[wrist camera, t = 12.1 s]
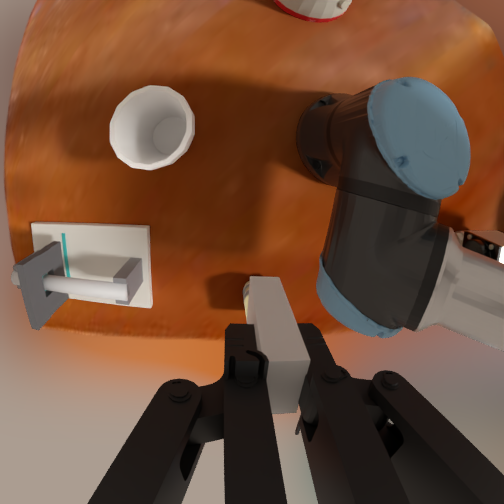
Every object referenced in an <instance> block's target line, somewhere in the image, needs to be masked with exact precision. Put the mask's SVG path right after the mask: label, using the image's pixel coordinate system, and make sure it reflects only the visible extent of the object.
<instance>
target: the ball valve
mask: <svg viewBox="0 0 504 504" xmlns="http://www.w3.org/2000/svg"><path fill="white" fill-rule="evenodd" d="M455 235H456V237H457V239H458V241H459V243H460V245H461V246H463V247H464V248H466V249H469V250H471V251H474V252H476V253H479V254H481V255H484V256H486V257H489V258H491V259H494V260H496V261H499V262H501V263H503V264H504V232H502V231H499V230H492V231H476V230H472V231H456V232H455Z"/></svg>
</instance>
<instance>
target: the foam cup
mask: <svg viewBox="0 0 504 504" xmlns="http://www.w3.org/2000/svg"><path fill="white" fill-rule="evenodd" d="M194 135H195V116H194V114H193V112H192V110H191V108H190V106H189V104H188V103H187V101H186V99H185V98H184V97H183V96H182V95H180V94H179V93H177V92H176V91H174V90H173V89H171V88H169V87H165V86H153V85H149V86H146V87H144V88H141V89H138V90H136V91H133V92H131V93H130V94H129V95H128V96H127V97H126V98H125V99H124V100H123V101H122V102H121V103H120V104H119V105H118V106H117V108H116V110H115V113H114V115H113V117H112V119H111V122H110V143H111V145H112V147H113V149H114V151H115V153H116V155H117V157H118V158H119V159H120V160H122V161H123V162H125V163H126V164H127V165H129V166H130V167H132V168H138V169H145V170H155V169H158V168H161V167H164V166H167V165H171V164H173V163H174V162H175V161H176V160H178V159H179V158H180V157H181V156H182V155H183V154H184V153H185V152H187V150H188V148H189V147H190V144H191V142H192V140H193V137H194Z"/></svg>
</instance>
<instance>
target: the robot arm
mask: <svg viewBox="0 0 504 504" xmlns="http://www.w3.org/2000/svg"><path fill="white" fill-rule="evenodd" d="M296 141H297V148H298V152H299V155H300V157H301V159H302V161H303V163H304V165H305V166H306V168H307V169H308V170H309V171H310V172H311V173H312V174H313V175H314V176H315V177H316V178H317V179H319V180H320V181H322V182H324V183H326V184H328V185H331V186H335V187H337V189H336V194H335V199H334V204H333V209H332V214H331V219H330V223H329V228H328V232H327V236H326V240H325V244H324V248H323V251H322V253H321V255H320V260H319V261H320V268H319V273H318V278H317V283H316V289H317V294H318V296H319V298H320V299H321V303H322V305H323V306H324V307H325V309H326V310H327V311H328V312H329V313H330V314H331V315H332V316H333V317H334V318H335V319H337V320H338V321H339V322H341V323H342V324H343V325H345V326H347V327H348V328H350V329H352V330H354V331H356V332H358V333H361V334H364V335H367V336H371V337H375V336H376V335H377V336H379V337H380V338H389V337H392V336H394V335H396V334H397V333H398V332H399V331H401V330H402V328H403V327H405V328H407V329H409V330H412V331H414V332H419V331H421V330H423V329H426V328H428V327H430V326H432V325H439V326H441V327H444V328H446V329H448V330H451V331H454V332H456V333H459V334H461V335H464V336H466V337H468V338H471V339H473V340H476V341H479V342H481V343H483V344H486V345H488V346H491V347H493V348H496V349H498V350H501V351H503V352H504V264H503V263H501V262H499V261H496V260H494V259H491V258H489V257H486V256H484V255H481V254H479V253H476V252H474V251H471V250H469V249H466V248H464V247H463V246H461V245H460V243H459V241H458V239H457V237H456V235H455V233H454V231H453V229H452V228H451V227H448V226H446V225H443V224H440V223H438V222H437V218H438V214H439V209H440V205H441V200H442V199H444V198H446V197H449V196H451V195H453V194H455V193H456V192H457V191H458V189H459V187H458V186H459V185H463V183H464V182H465V180H466V177H467V174H468V170H469V166H470V143H469V138H468V134H467V130H466V127H465V124H464V122H463V119H462V118H461V117H460V115H459V113H458V111H457V109H456V107H455V105H454V104H453V102H452V101H451V100H450V99H449V98H448V96H447V95H446V94H445V93H444V92H442V91H441V90H440V89H439V88H438V87H436V86H435V85H433V84H431V83H430V82H428V81H425V80H423V79H420V78H415V77H403V78H398V79H394V80H386V81H382V82H381V83H379V84H377V85H375V86H373V87H371V88H368V89H366V90H364V91H362V92H360V93H358V94H356V95H349V94H331V95H327V96H324V97H322V98H320V99H318V100H317V101H315V102H314V103H312V104H311V105H310V106H309V107H308V108H307V109H306V110H305V111H304V113H303V114H302V116H301V118H300V120H299V123H298V127H297V134H296ZM298 404H299V406H300V410H301V415H300V418H299V421H298V424H297V427H296V432H295V434H296V435H298V434H299V431H300V429H301V433H302V438H303V442H304V446H305V450H306V454H307V458H308V463H309V467H310V470H311V475H312V479H313V484H314V487H315V492H316V496H317V500H318V504H504V475H503V474H502V473H501V472H500V471H499V470H498V469H497V468H496V467H495V466H494V465H493V464H492V463H491V462H490V461H489V460H488V459H487V458H486V457H485V456H484V455H483V454H482V453H481V452H480V451H479V450H478V449H477V448H476V447H475V446H474V445H473V444H472V443H471V442H470V441H469V440H468V439H467V438H466V437H465V436H464V435H463V434H462V433H461V432H460V431H459V430H457V428H455V427H454V426H453V425H452V424H451V423H450V422H449V421H448V420H447V419H446V418H445V417H444V416H443V415H442V414H441V413H440V412H439V411H438V410H437V409H436V408H435V407H434V406H432V404H431V403H430V402H429V401H428V400H427V399H425V398H424V397H423V396H422V395H421V394H420V393H419V392H418V391H417V390H416V389H415V388H414V387H413V386H412V385H411V384H410V383H409V382H407V380H406V379H405V378H403V377H402V376H401V375H399V374H398V373H396V372H393V371H386V370H385V371H380V372H378V373H377V374H375V375H374V377H373V379H372V380H364V379H357V378H352V377H351V376H350V374H349V373H348V371H347V370H345V369H344V368H342V367H341V366H338V365H336V363H335V361H334V359H333V357H332V355H331V353H330V351H329V349H328V347H327V345H326V342H325V340H324V339H323V336H322V334H321V332H320V330H319V329H318V328H317V327H316V326H314V325H313V324H312V323H298V324H297V323H296V320H295V318H294V315H293V312H292V310H291V307H290V304H289V302H288V299H287V297H286V294H285V291H284V289H283V286H282V284H281V281H280V279H279V277H258V276H250V283H249V297H248V311H247V324H231V323H230V325H229V326H228V327H227V328H226V330H225V359H224V374H223V376H222V377H221V378H220V380H218V381H217V382H215V383H213V384H210V385H206V386H200V387H198V386H197V385H196V384H195V383H194V382H191V381H189V380H185V379H173V380H170V381H168V382H165V383H164V384H163V385H162V386H161V387H160V388H159V389H158V391H157V392H156V394H155V395H154V397H153V399H152V400H151V402H150V404H149V405H148V407H147V408H146V410H145V411H144V413H143V415H142V416H141V418H140V419H139V421H138V423H137V425H136V426H135V427H134V429H133V431H132V432H131V434H130V436H129V437H128V439H127V440H126V442H125V444H124V445H123V447H122V449H121V450H120V452H119V453H118V455H117V456H116V458H115V460H114V461H113V463H112V464H111V466H110V468H109V469H108V471H107V473H106V474H105V476H104V477H103V479H102V481H101V482H100V484H99V486H98V487H97V489H96V490H95V492H94V494H93V495H92V497H91V499H90V500H89V502H88V504H181V503H182V501H183V498H184V496H185V493H186V491H187V488H188V486H189V483H190V481H191V478H192V476H193V473H194V471H195V468H196V465H197V463H198V460H199V458H200V455H201V452H202V449H203V447H204V445H205V443H206V442H211V441H215V440H220V439H224V482H225V504H287V499H286V494H285V488H284V482H283V476H282V470H281V464H280V459H279V453H278V447H277V441H276V436H275V429H274V423H273V417H272V414H284V413H296V411H297V408H298ZM389 419H390V420H391V421H392V422H393V423H394V424H391V423H389V422H388V420H389Z"/></svg>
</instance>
